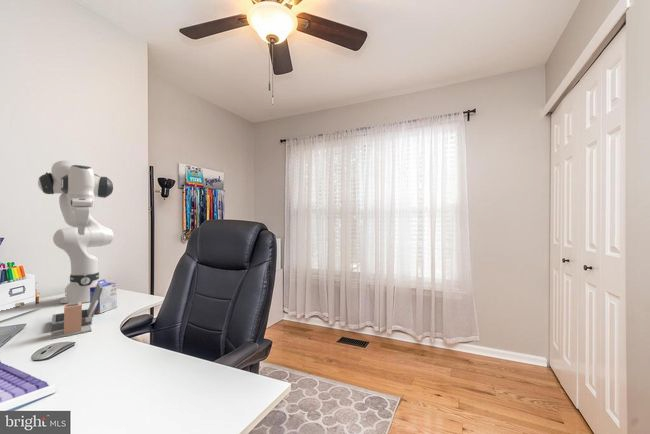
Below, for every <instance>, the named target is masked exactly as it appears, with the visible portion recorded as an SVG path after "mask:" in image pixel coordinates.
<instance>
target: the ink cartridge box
mask: <svg viewBox="0 0 650 434" xmlns="http://www.w3.org/2000/svg"><path fill="white" fill-rule="evenodd" d="M98 282H102V283H100V284H101V286H102V288H103V289H102V292H101V295H100V298H99V301H98V304H97V307H96V310H95V313H94V314H95V315H96V314H98V315H99V314H100V315H101V314H102V313H105V312H108V311H110V310H112V309H116V308H117V307H118V288H117V287H118V283H117V282H107V281H106V279H99V281H98ZM95 289H96V286H94V287H91V288H90V303H91V300H92V297H93V294H94V291H95ZM90 303H89V304H90Z"/></svg>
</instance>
